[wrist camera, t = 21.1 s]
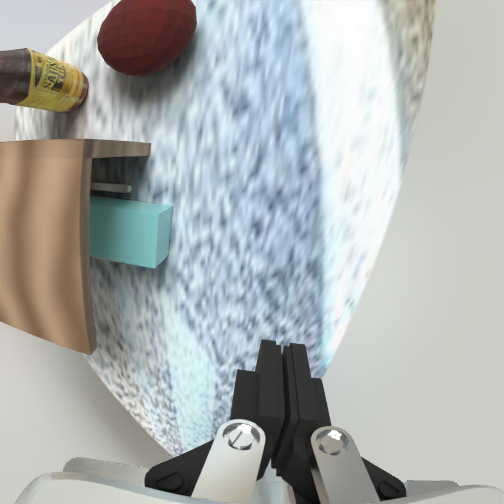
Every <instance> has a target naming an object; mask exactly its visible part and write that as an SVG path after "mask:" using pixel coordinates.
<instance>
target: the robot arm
mask: <svg viewBox="0 0 504 504" xmlns="http://www.w3.org/2000/svg"><path fill="white" fill-rule="evenodd" d="M14 504H504V492H503V491H502V490H500V489H498V488H496V487H492V486H486V485H464V486H459V485H458V484H457V483H455V482H453V481H411V480H407V481H406V482H405V483H402V482H401V481H400V480H399V479H398V478H396V477H394V476H392V475H391V474H389V473H387V472H386V471H384V470H382V469H380V468H379V467H377V466H375V465H374V464H372V463H370V462H369V461H367V460H366V459H364V458H362V457H361V456H360V454H359V452H358V449H357V447H356V445H355V443H354V440H353V439H352V437H351V435H350V434H349V433H347V432H346V431H345V430H343V429H341V428H338V427H334V426H331V421H330V417H329V412H328V407H327V402H326V397H325V392H324V388H323V383H322V380H321V379H320V378H311V374H310V368H309V363H308V357H307V352H306V347H305V345H304V344H296V343H290V345H289V346H285V347H284V350H283V354H282V353H281V345H276V341H271V340H264V339H262V340H261V344H260V349H259V354H258V359H257V364H256V369H255V372H254V371H246V370H239V369H238V370H237V376H236V382H235V388H234V395H233V402H232V409H231V416H230V421H228V422H225V423H224V424H223V425H221V427H220V428H219V430H218V432H217V434H216V437H215V439H214V440H212V441H209V442H207V443H205V444H203V445H201V446H199V447H197V448H195V449H193V450H190V451H188V452H186V453H184V454H182V455H179V456H177V457H175V458H172V459H170V460H168V461H166V462H163V463H160V464H158V465H156V466H154V467H152V468H150V469H149V468H140V466H139V465H132V464H124V463H116V462H108V461H102V460H96V459H90V458H82V457H77V458H73V459H71V460H70V461H68V462H67V463H66V464H65V466H64V469H63V472H52V473H46V474H43V475H40V476H39V477H37V478H35V479H34V480H33V481H32V482H31V483H30V484H29V485H28V486H27V487H26V488H25V489H24V490H23V492H22V493H21V495H20V496H19V497H18V499H17V500H16V502H15V503H14Z"/></svg>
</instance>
